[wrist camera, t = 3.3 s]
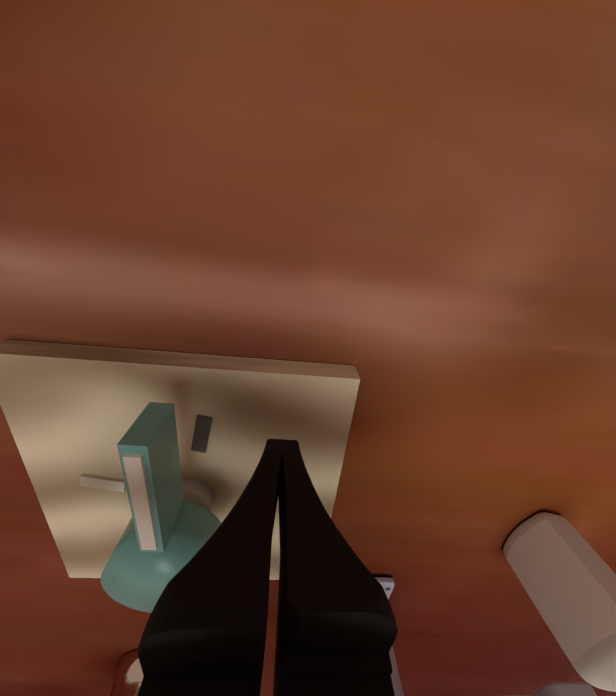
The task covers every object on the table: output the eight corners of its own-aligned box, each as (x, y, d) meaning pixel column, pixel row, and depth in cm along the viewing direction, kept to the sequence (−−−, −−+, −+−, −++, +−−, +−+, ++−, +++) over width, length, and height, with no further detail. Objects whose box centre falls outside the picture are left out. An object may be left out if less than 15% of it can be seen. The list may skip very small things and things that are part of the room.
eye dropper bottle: (486, 536, 23) (653, 814, 13) (553, 502, 22) (805, 783, 11) (509, 559, 25) (676, 825, 14) (573, 528, 24) (812, 799, 13)
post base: (316, 559, 24) (320, 612, 21) (83, 555, 22) (48, 612, 19) (354, 365, 16) (369, 402, 13) (8, 339, 15) (-70, 373, 12)
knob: (224, 560, 17) (213, 617, 15) (135, 558, 17) (109, 617, 14) (221, 406, 12) (204, 452, 10) (99, 399, 12) (51, 444, 10)
